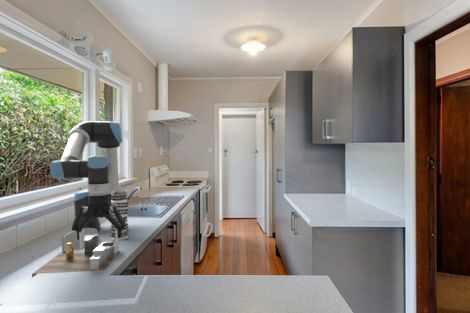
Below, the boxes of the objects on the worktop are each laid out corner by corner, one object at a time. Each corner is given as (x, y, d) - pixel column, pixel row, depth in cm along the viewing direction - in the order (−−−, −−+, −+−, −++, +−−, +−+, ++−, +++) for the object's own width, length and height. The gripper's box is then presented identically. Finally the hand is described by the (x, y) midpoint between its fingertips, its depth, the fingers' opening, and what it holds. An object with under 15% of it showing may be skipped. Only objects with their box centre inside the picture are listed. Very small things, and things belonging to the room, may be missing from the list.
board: (59, 256, 123) (59, 253, 123) (120, 253, 126) (120, 250, 126) (32, 276, 104) (32, 273, 104) (105, 273, 107) (105, 269, 106)
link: (102, 251, 125) (102, 238, 125) (119, 251, 126) (118, 237, 126) (85, 270, 106) (84, 254, 106) (104, 269, 107) (103, 254, 107)
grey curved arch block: (65, 254, 125) (62, 232, 127) (62, 255, 128) (58, 233, 130) (102, 244, 138) (99, 224, 140) (98, 245, 141) (95, 226, 143)
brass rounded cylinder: (68, 259, 120) (67, 242, 119) (75, 259, 120) (74, 241, 120) (64, 262, 117) (64, 244, 116) (71, 261, 117) (71, 244, 117)
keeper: (86, 255, 124) (86, 234, 124) (98, 254, 125) (97, 234, 125) (78, 262, 116) (78, 240, 116) (91, 262, 117) (90, 240, 117)
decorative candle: (110, 241, 142) (109, 192, 142) (110, 236, 151) (109, 190, 150) (129, 238, 146) (128, 191, 145) (128, 233, 155) (127, 189, 154)
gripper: (61, 196, 106) (62, 251, 107) (128, 194, 109) (129, 248, 110) (70, 193, 114) (71, 245, 114) (133, 191, 117) (134, 242, 117)
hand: (99, 246), depth 112 cm, fingers open, 13 cm apart
